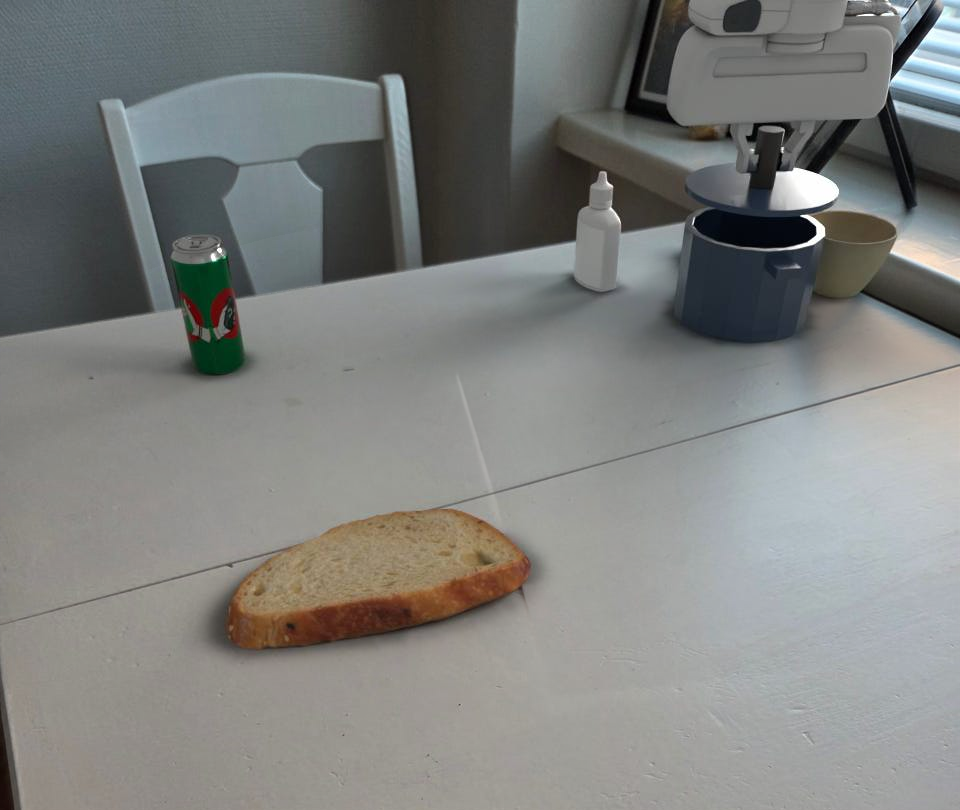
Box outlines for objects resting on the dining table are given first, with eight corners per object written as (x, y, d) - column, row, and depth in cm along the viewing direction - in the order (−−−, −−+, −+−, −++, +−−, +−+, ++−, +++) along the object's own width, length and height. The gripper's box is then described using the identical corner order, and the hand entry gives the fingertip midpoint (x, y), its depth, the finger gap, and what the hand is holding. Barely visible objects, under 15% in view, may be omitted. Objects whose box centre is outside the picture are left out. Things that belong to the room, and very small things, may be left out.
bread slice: (203, 638, 66) (192, 595, 64) (338, 501, 78) (334, 461, 76) (443, 716, 61) (441, 673, 58) (548, 557, 73) (550, 515, 70)
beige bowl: (787, 304, 107) (801, 237, 102) (788, 270, 114) (801, 206, 109) (883, 313, 105) (902, 245, 100) (878, 278, 112) (895, 213, 108)
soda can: (248, 354, 98) (227, 231, 90) (245, 377, 94) (223, 251, 86) (196, 356, 98) (171, 233, 90) (191, 380, 94) (164, 254, 86)
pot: (766, 279, 112) (783, 192, 106) (836, 352, 98) (860, 256, 92) (651, 286, 111) (661, 198, 104) (705, 362, 97) (720, 265, 90)
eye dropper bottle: (577, 295, 109) (585, 181, 101) (572, 275, 113) (579, 164, 105) (617, 294, 109) (627, 180, 101) (610, 274, 113) (619, 163, 105)
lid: (800, 171, 103) (813, 106, 98) (861, 219, 92) (879, 148, 88) (665, 178, 101) (673, 111, 97) (711, 227, 90) (723, 155, 86)
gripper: (890, -8, 89) (851, 156, 98) (672, -2, 87) (653, 165, 96) (923, 5, 84) (879, 176, 94) (694, 12, 82) (672, 186, 91)
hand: (763, 171), depth 95 cm, fingers closed on lid, 2 cm apart
